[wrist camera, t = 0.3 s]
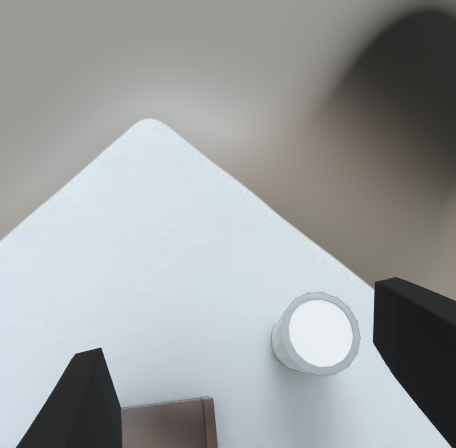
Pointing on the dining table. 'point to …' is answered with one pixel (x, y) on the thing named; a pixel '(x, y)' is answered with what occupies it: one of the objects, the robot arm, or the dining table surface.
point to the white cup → (316, 335)
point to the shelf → (170, 424)
